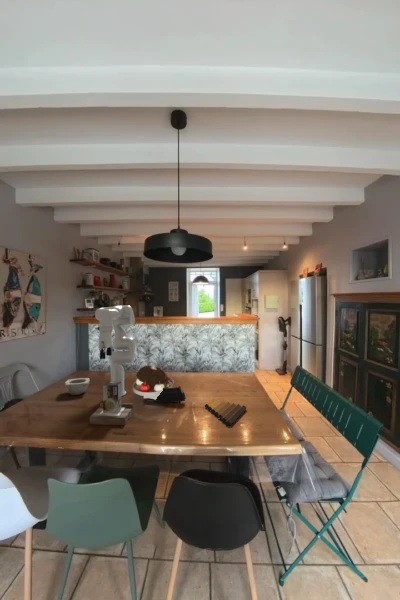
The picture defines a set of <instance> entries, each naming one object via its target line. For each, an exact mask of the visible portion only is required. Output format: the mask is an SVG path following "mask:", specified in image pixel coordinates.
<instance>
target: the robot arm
mask: <svg viewBox="0 0 400 600" xmlns="http://www.w3.org/2000/svg"><path fill="white" fill-rule="evenodd" d="M94 315H95V316H94V317H95V320H97V321H99V335H98V349H99V360H105V359H106V356H109V364H110V382H121V397H123V396H125V395H127V391H126V390H125V368H124V367H123V365H133V363H134V361H135V350H136V341H135V338H133V337H127V331H126V329H125V328H124V327H123V326H128V327H129V326H133V325H134V324H135V323H136V319H135V313H134V311H133V308H132V306H131V305H129V304H128V305H127V304H126V305H121V304H120V305H115V306H108V307H100V308H96V310H95V312H94ZM113 330H114V338H113V335H112V334H113V333H112V332H113ZM112 347H113V349H114V350H115V351H112Z"/></svg>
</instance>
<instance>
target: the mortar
mask: <svg viewBox="0 0 400 600" xmlns="http://www.w3.org/2000/svg"><path fill="white" fill-rule="evenodd" d="M90 382H91V381H90V378H89V377H79V378H69V379H67V380H66V381H65V382H64V386H65V389H66V390H67V392H68V393H69V394H70V395H73V396H78V395H83V393H85V391H86V390H87V389H88V388H89V387H88V386H89V385H90Z"/></svg>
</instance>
